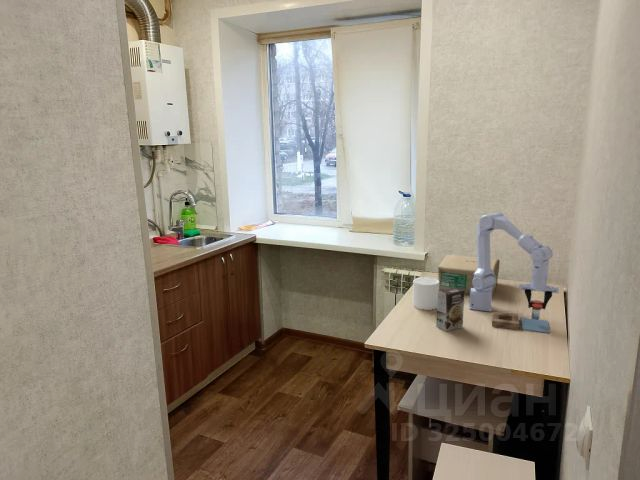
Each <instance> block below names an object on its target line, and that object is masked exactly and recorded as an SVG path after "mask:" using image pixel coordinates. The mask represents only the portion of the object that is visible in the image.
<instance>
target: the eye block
mask: <svg viewBox="0 0 640 480" xmlns="http://www.w3.org/2000/svg"><path fill="white" fill-rule="evenodd" d="M519 325H520V317H519V314H516V313H508V312H500V311H499V312H498V311H492V318H491V327H495V328H502V329H503V328H504V329H510V330H519V329H520V326H519Z"/></svg>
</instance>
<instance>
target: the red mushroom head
mask: <svg viewBox="0 0 640 480" xmlns="http://www.w3.org/2000/svg"><path fill="white" fill-rule="evenodd" d="M543 306H544V301H541V300H537V299H534V300H532V299H531V307H530V308H532V309H531V318H530V319H534V320H540V315H541V310H544V309H543Z"/></svg>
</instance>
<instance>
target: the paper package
mask: <svg viewBox="0 0 640 480" xmlns="http://www.w3.org/2000/svg"><path fill="white" fill-rule="evenodd" d="M490 263H491V269H492V270H493V271H494V275H495V278H496V284H495V285H494V286H493V289H492V296H493V294H494V291H495V289H496V287H497V284H498V279H499V271H500V259H498V258H491V257H490ZM437 268H438V270H437V271H438V273H437V274H438V276H437V277H438V278H437V280H439V290H441V289H446V288H450V287H456V288H459V289H462V290H464V291H465V294H464V295H467V296H468V295H469V296H470V292H471V288H474V287H473V284H472V281H473V278H474V273H475V272H476V270H477V269H478V261H477V256H469V255H468V256H467V255H456V254H455V255H454V254H446V256H445V257H444V258H443V260H442V261H441V263H440V264H439V265H438V267H437Z"/></svg>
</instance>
